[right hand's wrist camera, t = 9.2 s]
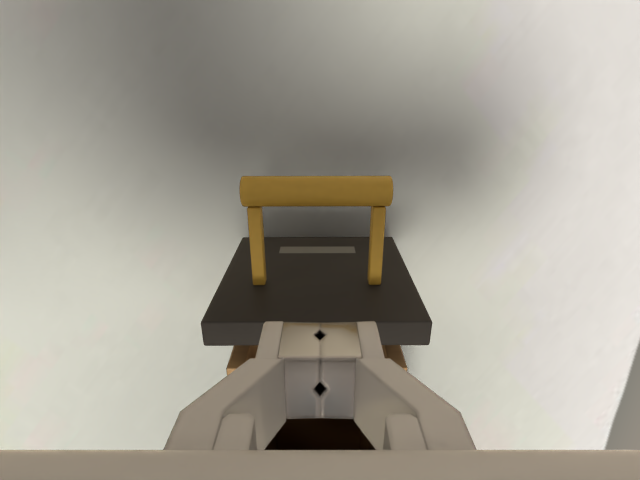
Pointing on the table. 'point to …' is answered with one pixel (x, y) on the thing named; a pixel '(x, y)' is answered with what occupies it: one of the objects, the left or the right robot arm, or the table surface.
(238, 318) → the drawer
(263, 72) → the table surface
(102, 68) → the table surface
